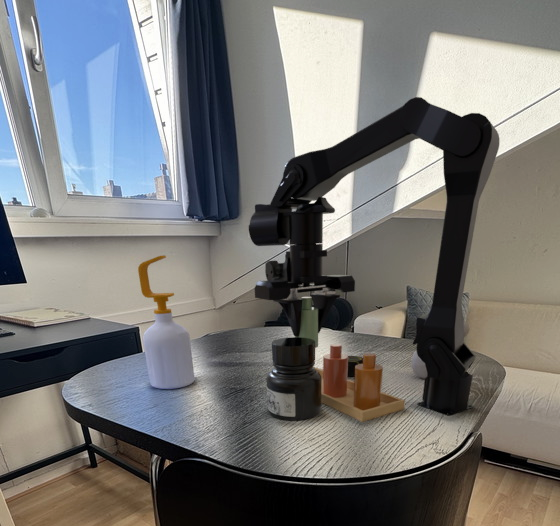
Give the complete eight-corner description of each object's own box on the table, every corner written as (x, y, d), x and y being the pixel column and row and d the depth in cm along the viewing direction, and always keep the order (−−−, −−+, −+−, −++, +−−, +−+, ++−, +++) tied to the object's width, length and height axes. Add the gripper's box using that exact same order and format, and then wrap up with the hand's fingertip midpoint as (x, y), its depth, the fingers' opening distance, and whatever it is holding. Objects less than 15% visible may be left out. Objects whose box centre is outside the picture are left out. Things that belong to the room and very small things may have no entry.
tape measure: (362, 370, 90) (363, 353, 89) (367, 379, 84) (368, 361, 83) (331, 370, 91) (332, 354, 89) (334, 380, 85) (334, 362, 83)
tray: (404, 411, 68) (405, 400, 67) (362, 424, 64) (362, 412, 63) (314, 376, 88) (314, 366, 87) (277, 384, 83) (277, 374, 82)
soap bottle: (189, 389, 82) (172, 255, 72) (144, 390, 82) (121, 257, 72) (198, 376, 90) (184, 254, 80) (157, 377, 90) (138, 255, 80)
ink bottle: (260, 407, 71) (256, 338, 66) (306, 400, 74) (306, 333, 69) (280, 428, 63) (277, 351, 58) (331, 419, 66) (333, 344, 61)
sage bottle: (322, 346, 78) (323, 297, 74) (303, 350, 76) (303, 299, 72) (309, 342, 81) (309, 295, 78) (290, 346, 79) (289, 297, 76)
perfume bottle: (409, 372, 88) (415, 314, 83) (458, 374, 85) (467, 315, 80) (409, 382, 82) (415, 321, 77) (461, 385, 79) (472, 322, 74)
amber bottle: (385, 408, 68) (389, 355, 64) (365, 414, 66) (368, 359, 62) (367, 401, 71) (370, 349, 68) (347, 406, 69) (349, 353, 66)
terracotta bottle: (351, 394, 75) (354, 345, 71) (332, 399, 73) (333, 349, 69) (336, 388, 78) (337, 341, 74) (317, 393, 76) (318, 344, 72)
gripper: (321, 244, 82) (320, 323, 88) (237, 247, 73) (243, 335, 80) (358, 242, 73) (355, 330, 80) (268, 245, 65) (272, 344, 71)
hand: (306, 334), depth 78 cm, fingers closed on sage bottle, 4 cm apart
